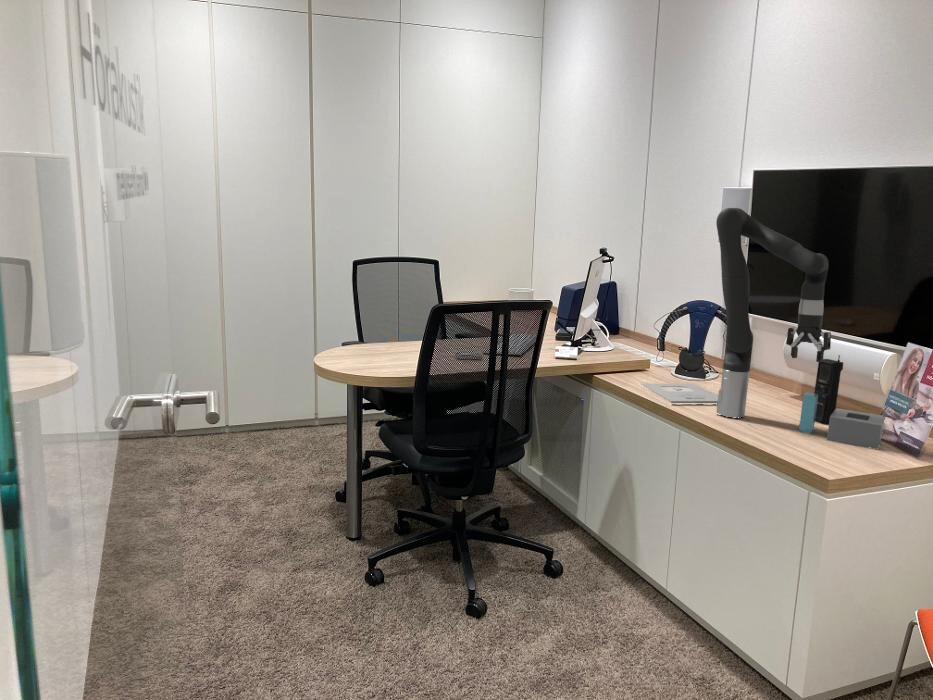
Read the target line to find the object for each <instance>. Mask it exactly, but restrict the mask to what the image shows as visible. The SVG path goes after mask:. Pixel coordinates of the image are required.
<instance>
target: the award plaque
mask: <svg viewBox="0 0 933 700" xmlns="http://www.w3.org/2000/svg"><path fill="white" fill-rule="evenodd" d="M640 384H641V385H643V386H644V387H646V388H648V389H649V390H651V391H652V392H654V393H656V394H657V395H659V396H661V397H663V398H664V399H666V400H668V401H669V402H671V403H718V394H716V393H715V392H712V391H710V390H708V389H705V388H703V387H701V386H700V385H697V384H695V383H665V382H663V383H662V382H661V383H660V382H659V383H656V382H655V383H652V382H651V383H648V382H647V383H646V382H644V383H642V382H640ZM660 387H661V388H660ZM662 387H668V388H669V387H670V388H671V387H672V388H673V387H674V388H673V389H672V388H671V389H670V388H669V390H668V389H667V390H666V389H665V388H664V389H663V388H662ZM675 387H676V388H675Z"/></svg>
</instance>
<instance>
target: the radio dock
mask: <svg viewBox="0 0 933 700" xmlns="http://www.w3.org/2000/svg"><path fill="white" fill-rule="evenodd" d="M883 416H884V415H883V414H882V415H880V414H874V413H869V412H861V411H857V410H856V411H855V410H852V409H843V408H837V407H836V409H835V411H834V412H833V413H832V415H831V416H830V420H829V424H828V427H827V436H826V441H830V442H836V443H842V444H847V445H852V446H856V445H857V447H862V446H863V447H862V448H867V447H871V448H870V449H873V448H878V449H879V448H880V446H881V443H880V442H882V441H881V438H882V439H883V437H882V432H883V433H884V430H883V425H884V426H885V423H884V420H885V421H886V417H883ZM879 445H880V446H879Z"/></svg>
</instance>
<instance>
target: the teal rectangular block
mask: <svg viewBox="0 0 933 700" xmlns="http://www.w3.org/2000/svg"><path fill="white" fill-rule="evenodd" d="M818 395H819V394H815V393H814V392H808V391H806V392H805V393H803V396H802V404H801V410H800V417H799V418H800V419H799V427H798V432H799V433H807V434H812V433H813V432H814V431H815V422H816V421H815V417H816V410H817V402H818Z"/></svg>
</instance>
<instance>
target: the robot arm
mask: <svg viewBox="0 0 933 700" xmlns="http://www.w3.org/2000/svg"><path fill="white" fill-rule="evenodd" d="M715 225H716V230H717V236H718V242H719V249H720V266H721V284H722V287H721V288H722V295H723V296H722V297H723V300H724V307H725V313H726V333H725V334H726V335H725V347H724V348H725V349H724V355H723V361H722V363H723V365H722V373H721V382H720V388H719V389H718V393H717V395H718V403H717V405H716V406H717V407H716V413H719V414H721V415H724V416H728V417H736V418H738V417H739V418H740V419H742V418H741V417H744V418H745V414H746V407H747V406H746V405H747V396H748V388H749V379H750V371H751V365H752V364H751V362H752V354H753V345H754V334H753V332H752V330H751V329H752V328H751V323H750V317H749V313H750V312H749V307H750V296H751V295H750V294H751V293H750V292H751V290H750V289H751V283H750V282H751V280H750V271H749V267H748V263H747V260H746V258H745V253H744V252H743V247H742V237H745V238H747V239H750V240H751V241H754V242H755V243H757V244H758V245H760V246H761V247H763V248H764V249H765V250H766V251H768V252H770V253H771V254H773V255H774V256H776V257H777V258H780V259H781V260H784V261H786V262H788V263H790V265H793V266H794V267H795V268H797V269H798V270H799V271H802V272H803V273H805V277H804V282H803V283H802V286H801V291H800V302H799V305H798V316H797V327H796V328H795V327H788V329H787V334H786V340H785V341H786V342H785V344H786V346H787V345H788V346H790V348H791V350H790V356H791V358H792V359H797V358H798V353H799V347H798V346H799V345H800V344H801V343H808V344H813V345H814V346H815V348H816V349H817V351H816V360H815V361H816V363H819V362H821V361H822V360H823V359H824V356H825V355H824V353H825V351H828V350H831V344H832V343H831V341H832V334H831V332H830V331H822V327H823V318H824V308H825V307H824V306H825V305H824V298H825V285H826V281H827V276H828V271H829V260H828V257H827V256H826V255H825V254H823V253H820V252H819V253H816V252H813V251H811V250H809V249H807V248H805V247H804V246H803V245H802V244H800V242H797V241H795V240H793V239H792V238H790V237H787V236H785V235H783V234H782V233H779V232H777V231H775V230H773V229H771V228H770V227H767V226H766V225H764V224H762V223H761V222H760V221H758V220H757V219H755V218H754V217H753V216H751V215H750V214H748V212H746V211H745V210H743V209H742V208H739V207H727V208H724V209H722V210H721V211H720V212H719V214H718V215H717V217H716V224H715ZM795 335H796V336H797V337H796V338H795ZM821 337H822V339H823V342H822V340H821ZM794 338H795V339H794ZM716 413H715V414H716Z"/></svg>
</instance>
